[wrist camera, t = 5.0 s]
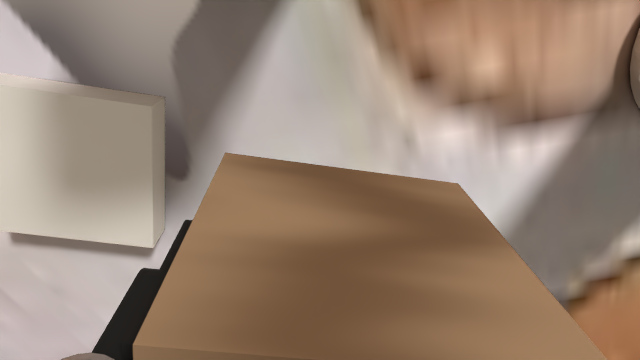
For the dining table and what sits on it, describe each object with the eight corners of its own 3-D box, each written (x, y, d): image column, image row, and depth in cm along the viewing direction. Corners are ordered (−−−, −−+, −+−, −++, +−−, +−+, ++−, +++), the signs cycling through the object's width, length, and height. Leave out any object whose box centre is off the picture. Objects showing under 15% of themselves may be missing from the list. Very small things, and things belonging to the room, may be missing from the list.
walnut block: (458, 183, 11) (628, 385, 5) (402, 352, 13) (477, 611, 7) (225, 152, 10) (132, 345, 4) (212, 335, 12) (142, 606, 7)
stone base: (165, 96, 26) (151, 106, 24) (164, 228, 30) (153, 248, 28) (0, 72, 25) (-30, 80, 23) (22, 212, 29) (-1, 230, 27)
